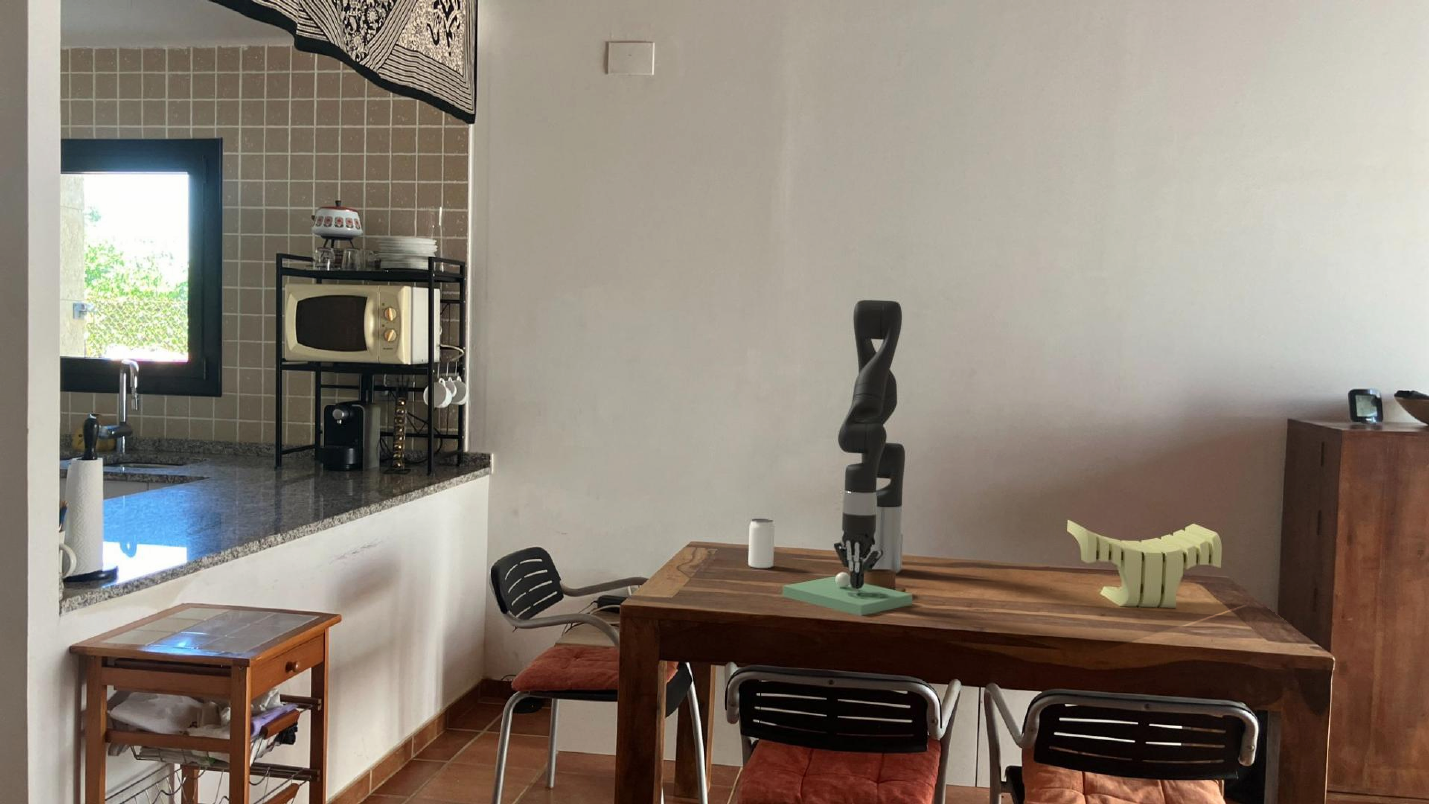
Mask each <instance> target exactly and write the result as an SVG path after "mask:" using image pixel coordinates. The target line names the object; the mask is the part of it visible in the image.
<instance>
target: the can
mask: <svg viewBox="0 0 1429 804" xmlns="http://www.w3.org/2000/svg"><path fill="white" fill-rule="evenodd" d="M748 529H749V532H748V559H747V560H748V561H747V562H748V563H747V565H748V566H749V567H750V568H753V569H770V568H772V567H773V566H774V552H775V551H774V550H775V524H774V520H773V519H769V518H752V519H751V522H750V523H749V528H748Z"/></svg>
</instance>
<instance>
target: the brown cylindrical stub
mask: <svg viewBox="0 0 1429 804" xmlns="http://www.w3.org/2000/svg"><path fill="white" fill-rule="evenodd" d="M864 583H865V584H869V585H873V586H878V587H883V588H887V589H891V590H896V591H900V592H905V593H906V588H905V587H902V586H900V587H899V586H896V573H895V570H890V569H871V570H867V571H865V572H864Z"/></svg>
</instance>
